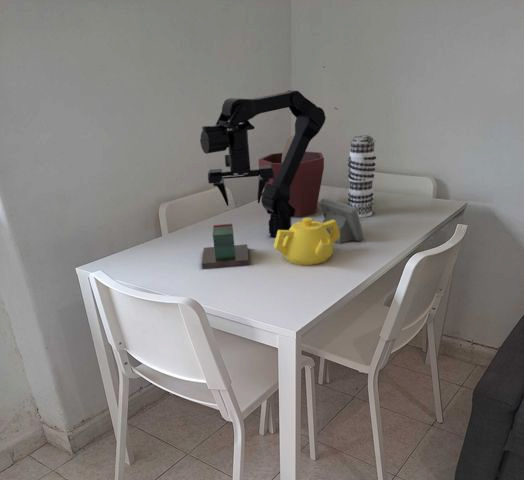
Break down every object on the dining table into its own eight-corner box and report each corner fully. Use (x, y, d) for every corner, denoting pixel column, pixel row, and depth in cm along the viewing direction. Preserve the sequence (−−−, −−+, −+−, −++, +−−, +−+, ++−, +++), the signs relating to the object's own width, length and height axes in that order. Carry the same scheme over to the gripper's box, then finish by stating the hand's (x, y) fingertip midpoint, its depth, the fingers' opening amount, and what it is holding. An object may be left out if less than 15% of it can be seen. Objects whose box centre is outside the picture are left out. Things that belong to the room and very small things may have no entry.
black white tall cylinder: (373, 209, 175) (377, 133, 162) (373, 217, 167) (377, 138, 154) (347, 210, 176) (348, 134, 163) (346, 217, 169) (348, 139, 156)
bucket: (281, 200, 193) (279, 131, 180) (335, 203, 184) (336, 131, 171) (253, 218, 175) (247, 142, 162) (311, 223, 166) (310, 143, 153)
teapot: (293, 278, 128) (292, 236, 122) (265, 256, 142) (263, 218, 136) (359, 262, 134) (361, 222, 128) (325, 243, 148) (326, 206, 143)
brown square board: (247, 249, 148) (247, 244, 148) (249, 265, 137) (248, 259, 137) (204, 252, 148) (203, 247, 147) (202, 268, 137) (201, 263, 136)
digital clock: (366, 242, 147) (368, 206, 142) (339, 247, 145) (340, 211, 139) (340, 227, 160) (341, 194, 155) (315, 232, 158) (315, 198, 152)
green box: (235, 258, 138) (232, 232, 134) (215, 259, 138) (212, 234, 134) (234, 247, 146) (232, 223, 142) (215, 248, 146) (213, 224, 142)
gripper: (269, 141, 146) (272, 195, 154) (206, 146, 145) (212, 199, 154) (272, 147, 136) (275, 204, 144) (205, 152, 136) (211, 209, 144)
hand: (243, 204), depth 147 cm, fingers open, 9 cm apart
